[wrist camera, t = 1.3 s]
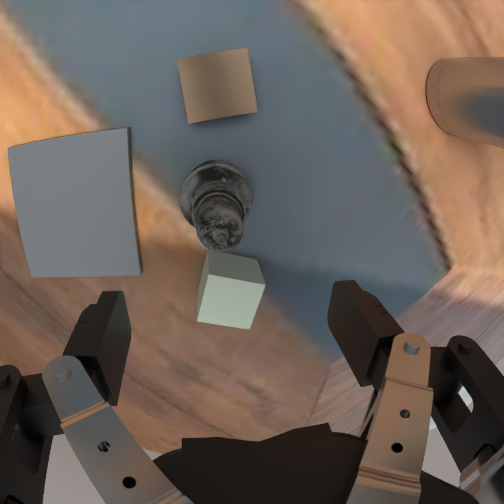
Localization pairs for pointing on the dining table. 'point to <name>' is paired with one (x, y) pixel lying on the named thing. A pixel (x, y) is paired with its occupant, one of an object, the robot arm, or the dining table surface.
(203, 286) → the sage block
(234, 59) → the walnut block
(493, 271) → the dining table surface
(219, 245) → the salt shaker
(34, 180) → the serving board
